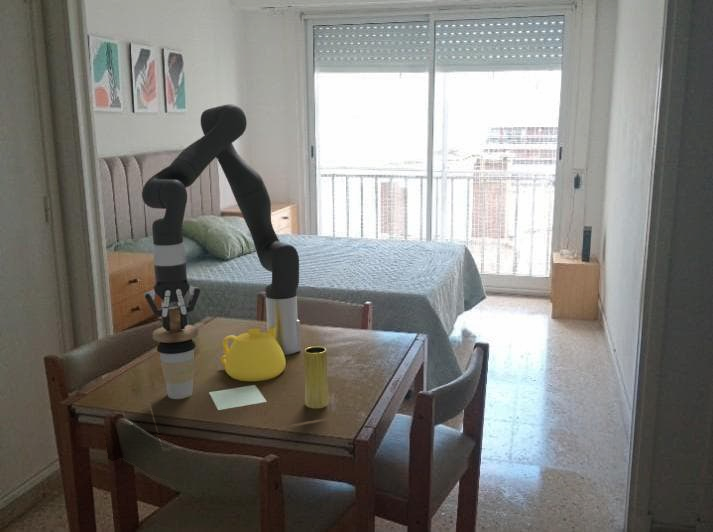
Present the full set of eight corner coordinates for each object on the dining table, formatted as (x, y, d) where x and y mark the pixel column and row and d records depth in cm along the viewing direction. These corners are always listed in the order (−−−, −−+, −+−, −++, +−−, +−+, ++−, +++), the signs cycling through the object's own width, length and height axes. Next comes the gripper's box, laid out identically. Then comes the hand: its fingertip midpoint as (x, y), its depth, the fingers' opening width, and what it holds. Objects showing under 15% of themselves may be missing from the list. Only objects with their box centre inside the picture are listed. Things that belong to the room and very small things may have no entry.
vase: (304, 401, 170) (302, 346, 167) (329, 399, 170) (327, 345, 167) (304, 411, 164) (302, 354, 161) (330, 409, 164) (328, 353, 161)
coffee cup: (189, 404, 169) (185, 347, 166) (154, 402, 171) (149, 345, 167) (205, 390, 178) (201, 335, 175) (171, 388, 180) (167, 333, 176)
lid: (194, 326, 178) (192, 300, 176) (201, 338, 168) (199, 311, 166) (150, 332, 174) (148, 305, 172) (155, 345, 164) (153, 317, 162)
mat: (255, 387, 179) (255, 384, 179) (267, 403, 168) (266, 401, 168) (209, 394, 175) (209, 392, 175) (218, 412, 164) (218, 410, 164)
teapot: (269, 388, 179) (266, 341, 176) (206, 380, 185) (203, 334, 182) (300, 362, 197) (299, 320, 194) (243, 356, 203) (240, 314, 201)
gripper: (196, 256, 173) (201, 321, 176) (138, 261, 168) (144, 328, 171) (201, 261, 166) (206, 329, 170) (141, 267, 161) (147, 337, 164)
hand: (175, 328), depth 170 cm, fingers closed on lid, 3 cm apart
